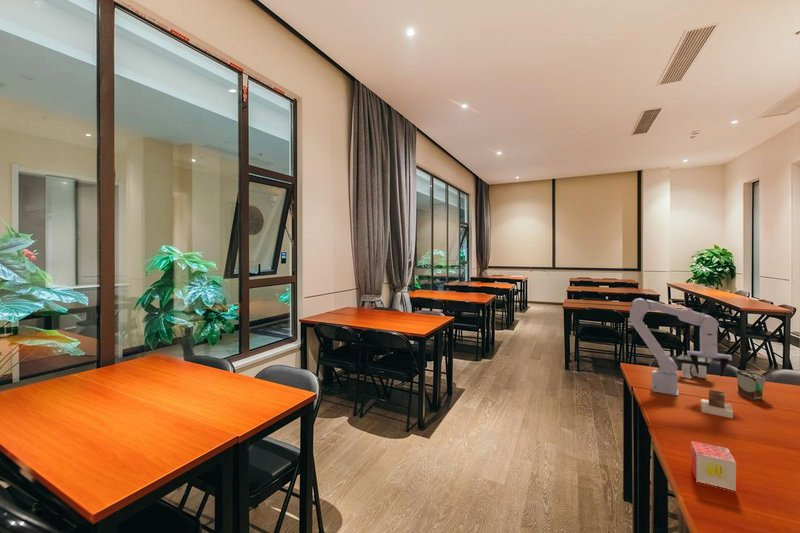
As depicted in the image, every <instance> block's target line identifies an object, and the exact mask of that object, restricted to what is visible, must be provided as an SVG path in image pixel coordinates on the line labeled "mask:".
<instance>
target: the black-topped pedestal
mask: <svg viewBox="0 0 800 533" xmlns="http://www.w3.org/2000/svg"><path fill="white" fill-rule="evenodd" d="M676 363H680V364H681V378H682V377H686V378H685V379H691V378H692V379H693V377H695V376H697V377H696V378H702V379H707V367H711V366H712V365H713V359H712V358H707V357H698V369H699V373H697V371H696V368H695V365H694V363H693V361H692V359H691V356H687V353H685V352H684V351H682V354H680V355H679V356H677V358H676ZM692 375H693V376H692Z"/></svg>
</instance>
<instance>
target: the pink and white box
mask: <svg viewBox="0 0 800 533" xmlns="http://www.w3.org/2000/svg"><path fill="white" fill-rule="evenodd" d="M690 443H691V444H690V448H691V449H690V450H691V452H690V455H691V456H690V457H691V460H690V468H691V471H692V473H693V475H694V476H695V477H694V479H695V478H696V480H695V482H696V483H697V482H701V483H705V484H706V483H707V484H710V485H714V486H719V487H723V488H727V489H730V490H734V491H736V492H737V461H736V460H735V457H734V456H733V455H732V453H731V451H730V450H729V448H728V447H727V448H726V447H723V446H717V445H713V444H708V443H703V442H698V441H693V440H691V442H690ZM701 483H700V484H701ZM705 484H704V485H705Z"/></svg>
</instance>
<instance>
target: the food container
mask: <svg viewBox="0 0 800 533" xmlns="http://www.w3.org/2000/svg"><path fill="white" fill-rule="evenodd" d="M735 375H736V380H737V381H736V382H737V393H739V394H740V395H743V396H745V397H747V398H749V399H751V400H753V401H762V400H763V395H764V394H763V393H764V385H765V383H767V380H766V377H765V376H764V375H763V374H761V373H758V372H755V371H749V370H748V371H747V370H741V369H736V371H735Z"/></svg>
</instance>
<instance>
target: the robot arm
mask: <svg viewBox="0 0 800 533" xmlns="http://www.w3.org/2000/svg"><path fill="white" fill-rule="evenodd" d="M653 311H659V312H662V313H666V314H669V315H672V316H676V317H677V318H678V320H679V321H680V322H681V321H682V322H685V323H688V324H691V325H694V326H699V351H698V350H687V351H686V354H687V356H691V359H692V361H693V363H694V365H695V368H696V371H697V373H699V369H698V357H699V358H704V357H707V359H718V360H719V367H720V368H719V377H723V374H724V372H725V369H726V367H727V365H728V364H729V361H733V357H732V354H726V353H720V352H719V353H718V333H717V329H718V327H720V326H719V325H720V323H719V322H718V320H717V319H716V318H715V317H713V316H711V315H709V314H706V313H705V312H698V311H694V310H693V309H692V308H689V307H687V308H685V307H684V308H682V309H679V308H676V307H672V306H671V305H667V304H664V303H662V302H658V301H655V300H651V299H644V298H642V297H639V298H638V297H637V298H634V299H633V300H632V302H631V304H630V306H629V321H630V324H631V325H632V327H633V328H634V329H635V330H636V332H637V333H638V334H639V336H640V338H641V339H642V341H643V342H644V343H645V344H646V346H647V347H648V349H649V350H650V351H651V353H652V354H653V356H654V357H655V359H656V360H657V364H658V366H659V368H657V370H652V372H651V380H652V381H651V383H650V384H651V391H652V392H656V393H661V394H666V395H672V396H679V389H678V372H677V371H678V365H677V362H675V360H674V358H673V357H671V356H669V355H668V354H667V353H666V352H665V350H664V349H663V347H662V346H661V344H660V342H658V340H657V339H656V338H655V336H654V335H653V334H652V332H651V331H650V329H649V328H648V326H646V324H645V322H644V321H643V320H644V318H645V315H646V314H647V313H648V312H653Z"/></svg>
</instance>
